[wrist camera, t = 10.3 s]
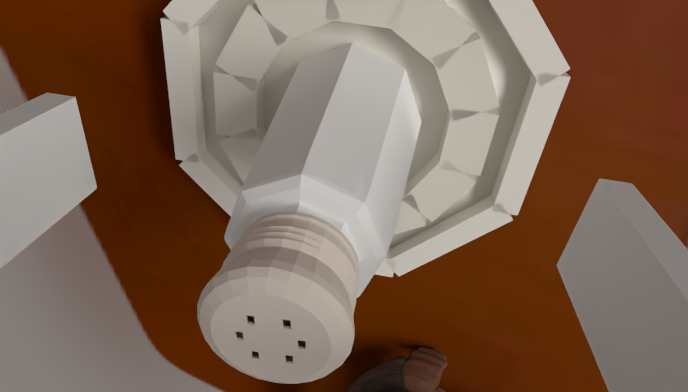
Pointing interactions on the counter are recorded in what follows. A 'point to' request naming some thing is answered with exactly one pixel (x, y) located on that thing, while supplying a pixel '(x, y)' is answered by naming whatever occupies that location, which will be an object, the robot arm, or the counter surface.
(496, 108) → the dish
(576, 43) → the counter surface
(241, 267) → the pepper shaker
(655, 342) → the robot arm
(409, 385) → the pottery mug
